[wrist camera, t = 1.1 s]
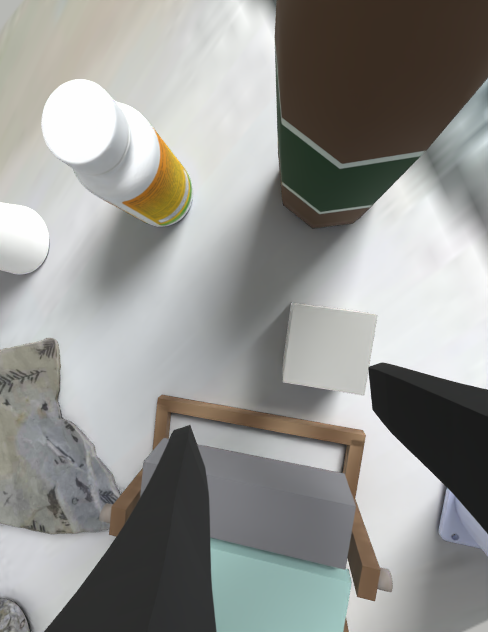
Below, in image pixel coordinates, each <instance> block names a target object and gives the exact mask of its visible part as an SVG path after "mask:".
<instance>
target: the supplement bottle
mask: <svg viewBox="0 0 488 632" xmlns="http://www.w3.org/2000/svg"><path fill="white" fill-rule="evenodd" d="M42 133H43V137H44V140H45V142H46V144H47V146H48V148H49V149H50V151H51V152H52V153H53V154H54V155H55V156H56V157H57V158H58V159H59V160H61V161H62V162H64V163H65V164H67V165H68V166H70V167H71V168H72V169H73V171H74V173H75V175H76V177H77V178H78V180H79V181H80V183H81V184H82V185H83V186H84V187H85V188H86V189H87V190H88V191H90V192H91V193H93V194H94V195H96V196H97V197H99V198H101V199H103V200H105V201H106V202H108V203H110V204H112V205H114V206H116V207H118V208H119V209H121V210H123V211H125V212H127V213H129V214H130V215H132V216H134V217H136V218H138V219H140V220H141V221H143V222H145V223H148V224H150V225H153V226H158V227H164V226H169V225H172V224H174V223H176V222H178V221H179V220H181V219H182V218H183V217H184V216H185V215H186V213H187V212H188V210H189V208H190V206H191V203H192V199H193V186H192V182H191V179H190V176H189V174H188V173H187V171H186V170H185V168H184V167H183V166H182V165H181V163H180V162H179V161H178V159H177V158H176V157H175V156H174V154H173V153H172V152H171V150H170V149H169V148H168V146H167V145H166V144H165V143H164V141H163V140H162V139H161V137H160V136H159V135H158V133H157V132H156V131H155V130H154V128H153V127H152V126H151V124H150V123H149V122H148V121H147V120H146V119H145V117H144V116H143V115H142V114H141V113H139V112H138V111H137V110H135V109H134V108H132V107H130V106H128V105H126V104H123V103H119V102H115V101H114V99H113V98H112V97H111V96H110V95H109V94H108V93H107V92H106V91H105V90H104V89H103V88H102V87H101V86H99V85H98V84H96V83H94V82H92V81H89V80H84V79H77V80H71V81H68V82H66V83H64V84H62V85H61V86H59V87H58V88H57V89H56V90H55V91H54V92H53V93H52V94H51V95H50V97H49V98H48V100H47V102H46V104H45V107H44V110H43V114H42Z"/></svg>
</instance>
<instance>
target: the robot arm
mask: <svg viewBox="0 0 488 632" xmlns="http://www.w3.org/2000/svg"><path fill="white" fill-rule="evenodd" d="M368 370H369V379H370V389H371V399H372V409H373V411H374V412H375V413H376V415H377V416H378V417H379V419H380V420H381V421H382V422H383V424H384V425H385V426H386V427H387V428H388V430H389V431H390V432H391V433H392V434H393V435H394V436H395V437H396V438H397V439H398V440H399V441H400V442H401V443H402V444H403V445H404V446H405V447H406V448H407V449H408V450H409V451H410V452H411V453H412V454H413V455H414V456H415V457H417V458H418V459H419V460H420V461H421V462H422V463H423V464H424V465H425V466H426V467H427V468H428V469H429V470H430V471H431V472H432V473H433V474H434V475H435V476H436V477H437V478H438V479H439V480H440V481H441V482H442V483H443V484H444V485H445V486H446V487H447V490H446V495H445V500H444V505H443V510H442V515H441V520H440V525H439V534H440V536H441V538H442V539H443V540H445V541H449V542H453V543H458V544H462V545H467V546H472V547H476V548H481V549H482V550H483V551H484V553H485V554H486V555H487V556H488V390H487V389H482V388H478V387H474V386H469V385H465V384H461V383H457V382H453V381H449V380H445V379H442V378H438V377H434V376H431V375H427V374H424V373H420V372H417V371H413V370H410V369H406V368H403V367H399V366H395V365H391V364H387V363H379V364H376V365H373V366H370V367H368ZM453 534H455V535H454V536H452V535H453ZM44 632H217V631H216V622H215V612H214V602H213V593H212V578H211V547H210V506H209V491H208V483H207V476H206V468H205V465H204V462H203V459H202V457H201V454H200V451H199V448H198V446H197V443H196V440H195V437H194V434H193V432H192V429H191V426H190V425H189V426H186V427H183V428H180V429H176V430H174V431H173V433H172V434H171V437H170V439H169V441H168V443H167V445H166V448H165V450H164V452H163V454H162V456H161V458H160V461H159V463H158V465H157V467H156V469H155V471H154V473H153V475H152V477H151V479H150V481H149V483H148V484H147V486H146V488H145V490H144V492H143V493H142V495H141V497H140V499H139V501H138V502H137V504H136V506H135V508H134V510H133V511H132V513H131V515H130V516H129V518H128V519H127V521H126V523H125V524H124V526H123V528H122V529H121V531H120V532H119V534H118V535H117V537H116V538H115V540H114V541H113V543H112V544H111V546H110V547H109V549H108V550H107V552H106V553H105V554H104V556H103V557H102V558H101V560H100V561H99V562H98V564H97V565H96V566H95V568H94V569H93V570H92V572H91V573H90V575H89V576H88V577H87V579H86V580H85V581H84V583H83V584H82V585H81V587H80V588H79V589H78V591H77V592H76V593H75V594H74V596H73V597H72V598H71V599H70V601H69V602H68V603H67V604H66V606H65V607H64V608H63V609H62V611H61V612H60V613H59V614H58V616H57V617H56V618H55V619H54V620H53V622H52V623H51V624H50V625H49V626H48V628H47V629H46V630H45V631H44Z"/></svg>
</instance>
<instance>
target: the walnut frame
mask: <svg viewBox="0 0 488 632" xmlns="http://www.w3.org/2000/svg"><path fill="white" fill-rule="evenodd" d="M171 412H173V413H178V414H184V415H189V416H194V417H200V418H205V419H211V420H216V421H221V422H227V423H232V424H238V425H243V426H249V427H254V428H259V429H265V430H270V431H276V432H281V433H286V434H292V435H297V436H303V437H308V438H313V439H319V440H324V441H330V442H335V443H341V444H346V445H347V448H346V454H345V460H344V466H343V472H342V473H344V474H345V476H346V479H347V482H348V485H349V488H350V491H351V494H352V496H353V499H354V502H355V505H356V509H355V515H354V521H353V527H352V533H351V539H350V545H349V551H348V557H347V558H348V562H349V566H350V570H351V574H352V578H353V582H354V586H355V590H356V594H357V597H360V598H364V599H368V600H372V601H375V599H376V593H377V589H379V590H383V591H387V592H392V588H393V583H392V576H391V573H390V571H389V570H388V569H384V568H380V567H379V564H378V561H377V559H376V556H375V553H374V550H373V547H372V545H371V542H370V539H369V536H368V534H367V531H366V528H365V525H364V522H363V520H362V517H361V514H360V511H359V508H358V506H357V503H356V500H355V496H356V490H357V484H358V478H359V472H360V466H361V460H362V455H363V449H364V443H365V437H366V435H365V433H364V432H363V430H358V429H352V428H347V427H341V426H335V425H330V424H324V423H318V422H313V421H307V420H302V419H296V418H290V417H285V416H279V415H273V414H268V413H262V412H256V411H251V410H245V409H239V408H234V407H228V406H222V405H217V404H211V403H206V402H200V401H194V400H189V399H183V398H177V397H172V396H166V395H161V396H160V397H158V401H157V411H156V421H155V431H154V441H153V450H154V449H155V447H156V446H157V445H158V444H159V443H160V442H161V440H162V439H163V438H167V439H168V438H169V429H170V419H171ZM142 474H143V468H142V470H141V471H140V472H139V473H138V474H137V476H136V477H135V478H134V479H133V481H132V482H131V483H130V484H129V486H128V487H127V488H126V489H125V490H124V492H123V493H122V494H121V495H120V497H119V498H118V499H117V500H116V502H115V503H114V504H113V505H112V504H108V503H106V504H105V505H104V506H103V508H102V510H101V512H100V516H99V521H102V522H106V523H110V530H109V535H113V536H117V535H118V534H119V532H120V531H121V529H122V528H123V526H124V524H125V523H126V521H127V519H128V518H129V516H130V515H131V513H132V511H133V510H134V508H135V506H136V504H137V502H138V501H139V499H140V494H141V484H142ZM343 632H349V631H348V626H347V621H346V618H345V624H344V630H343Z"/></svg>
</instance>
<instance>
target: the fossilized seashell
mask: <svg viewBox="0 0 488 632" xmlns="http://www.w3.org/2000/svg"><path fill="white" fill-rule="evenodd" d="M0 632H30V630H29V626H28V623H27V620H26V617H25V615H24V613H23V611H22V610H21V609H20V607H19V606H18V605H17V604H16V603H14V602H12V601H10V600H8V599H0Z"/></svg>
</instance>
